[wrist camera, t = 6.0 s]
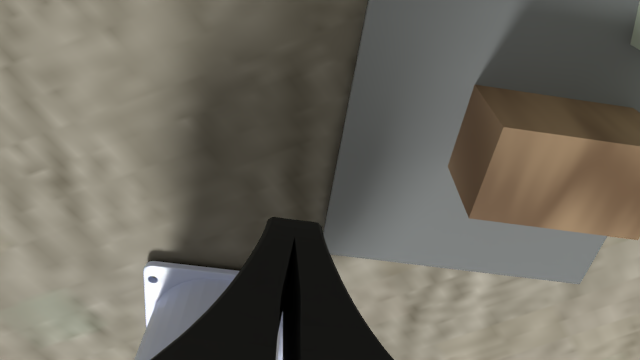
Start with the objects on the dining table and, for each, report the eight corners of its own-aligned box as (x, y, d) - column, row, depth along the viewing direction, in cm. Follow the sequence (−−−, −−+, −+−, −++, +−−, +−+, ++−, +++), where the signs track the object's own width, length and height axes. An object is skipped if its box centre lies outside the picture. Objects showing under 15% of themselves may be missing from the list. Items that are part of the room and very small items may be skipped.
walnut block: (447, 166, 23) (593, 186, 24) (468, 218, 20) (638, 240, 20) (474, 84, 21) (634, 108, 21) (503, 126, 18) (692, 153, 18)
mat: (576, 279, 27) (579, 284, 27) (320, 248, 26) (320, 253, 26) (754, -36, 19) (762, -34, 18) (387, -100, 18) (388, -99, 17)
